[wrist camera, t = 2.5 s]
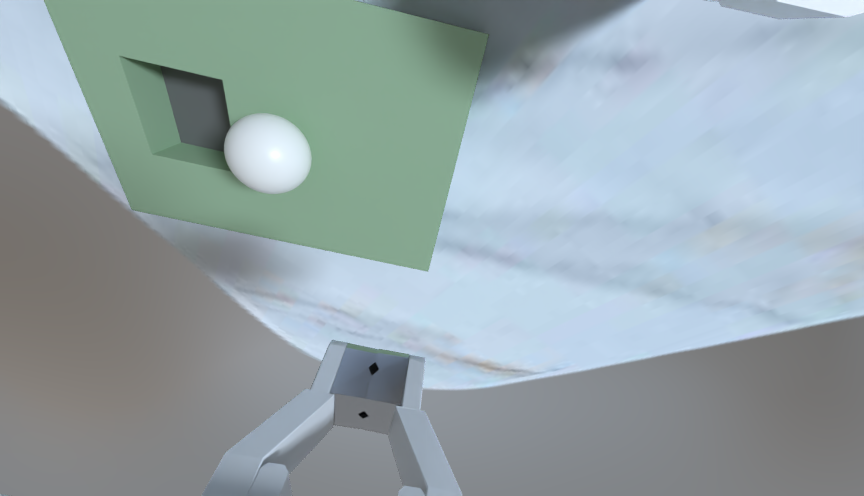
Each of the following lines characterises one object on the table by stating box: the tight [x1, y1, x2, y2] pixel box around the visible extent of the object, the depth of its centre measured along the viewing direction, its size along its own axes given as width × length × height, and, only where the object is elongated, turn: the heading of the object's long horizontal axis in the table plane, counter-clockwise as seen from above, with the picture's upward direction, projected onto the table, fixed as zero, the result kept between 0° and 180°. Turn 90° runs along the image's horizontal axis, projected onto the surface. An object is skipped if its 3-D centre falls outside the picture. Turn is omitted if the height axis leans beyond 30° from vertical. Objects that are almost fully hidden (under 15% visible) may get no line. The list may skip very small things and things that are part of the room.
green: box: [44, 0, 489, 271], centre depth 24 cm, size 18×26×4 cm
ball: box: [224, 113, 312, 194], centre depth 20 cm, size 5×5×5 cm
